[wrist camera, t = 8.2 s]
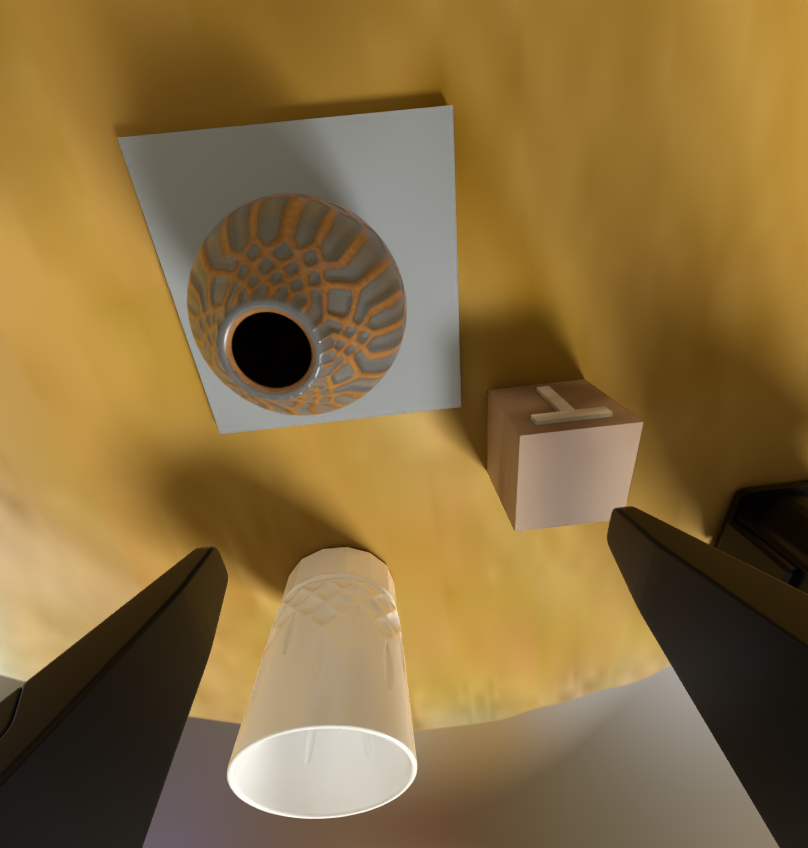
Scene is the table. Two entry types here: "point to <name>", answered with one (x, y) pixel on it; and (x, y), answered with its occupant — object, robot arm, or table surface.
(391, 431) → the table surface
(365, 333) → the vase
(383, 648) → the white cup
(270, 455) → the table surface
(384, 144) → the grey mat
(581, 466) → the letter cube
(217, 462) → the table surface
